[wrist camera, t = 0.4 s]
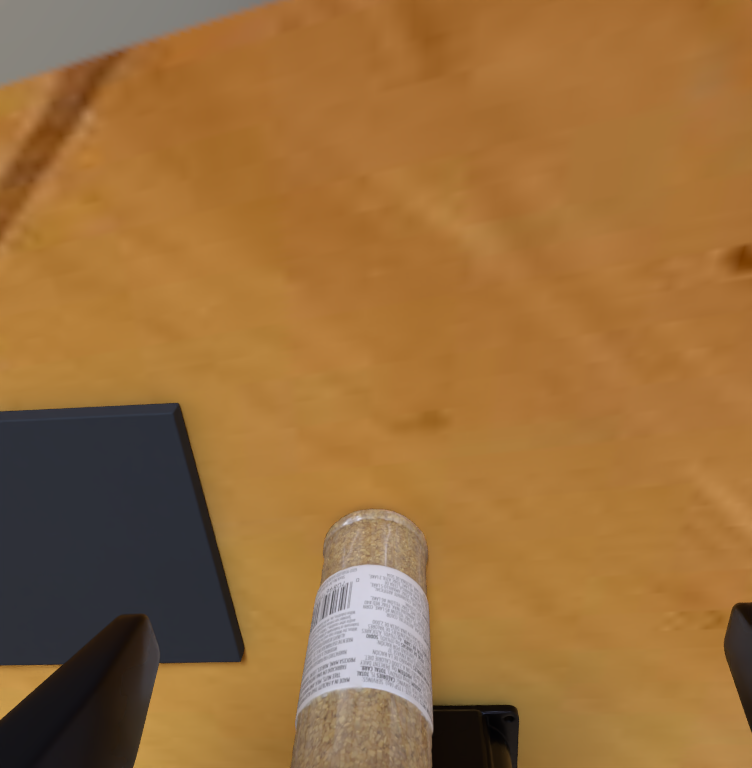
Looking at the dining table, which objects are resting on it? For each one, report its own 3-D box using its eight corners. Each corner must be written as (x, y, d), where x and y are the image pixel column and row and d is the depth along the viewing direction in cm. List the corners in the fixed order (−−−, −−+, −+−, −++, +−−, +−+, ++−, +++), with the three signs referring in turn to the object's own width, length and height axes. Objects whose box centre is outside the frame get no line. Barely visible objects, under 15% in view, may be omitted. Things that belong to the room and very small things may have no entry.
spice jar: (362, 595, 29) (329, 979, 17) (302, 530, 27) (221, 907, 16) (449, 557, 28) (478, 946, 16) (392, 485, 26) (378, 862, 14)
